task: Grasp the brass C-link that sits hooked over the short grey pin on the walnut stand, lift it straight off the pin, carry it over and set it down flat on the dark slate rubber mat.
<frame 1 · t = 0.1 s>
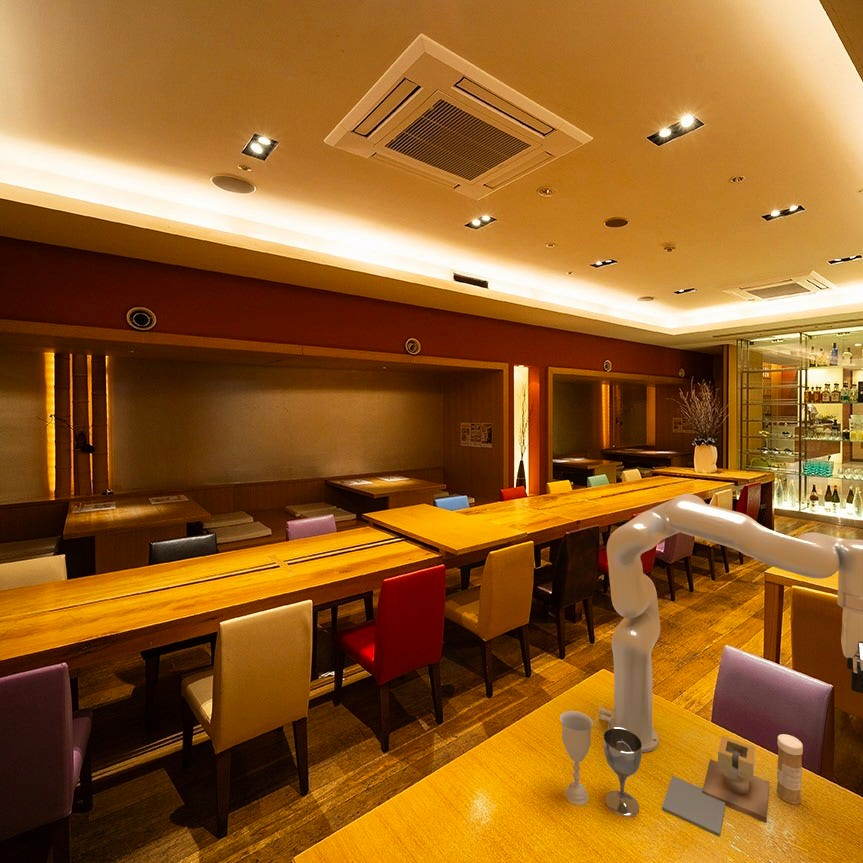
hand: (859, 681, 99), 31 cm above the table, fingers open, 9 cm apart
sprinkles bottle: (788, 797, 107), on the table
stand: (736, 790, 109), on the table
wine glass: (622, 804, 107), on the table
chalice: (576, 796, 109), on the table
mat: (694, 805, 106), on the table
c link: (736, 766, 109), point 6 cm above the table, touching stand
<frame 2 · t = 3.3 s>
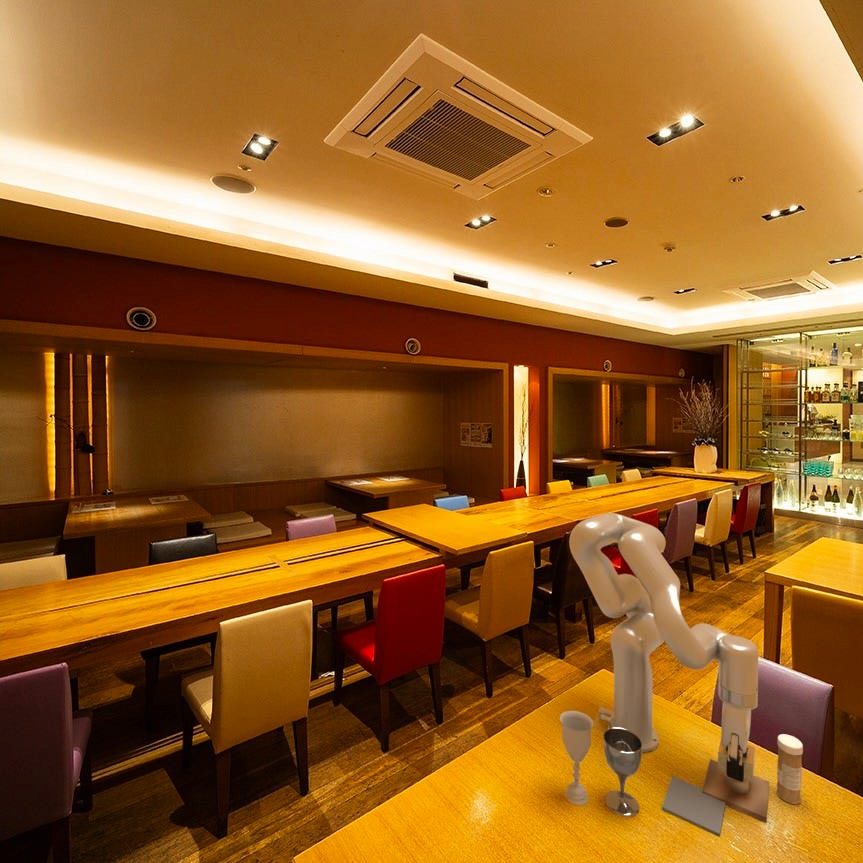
hand: (736, 767, 109), 6 cm above the table, fingers closed on c link, 6 cm apart
c link: (736, 766, 109), point 6 cm above the table, touching gripper, stand
everything else where it was.
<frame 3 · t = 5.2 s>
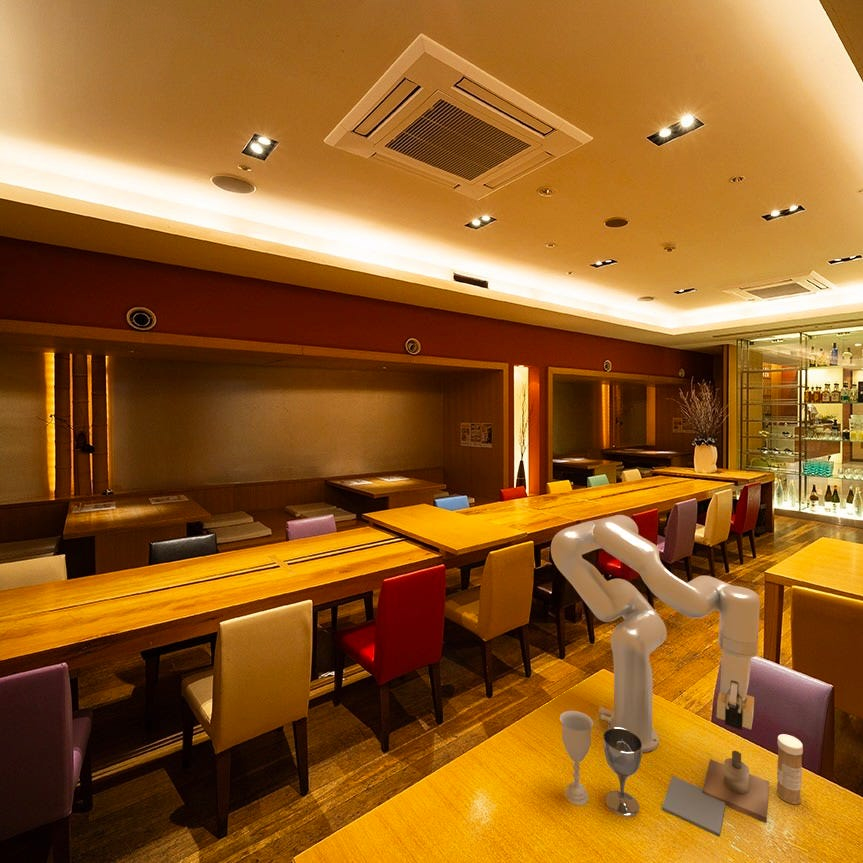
hand: (735, 717, 109), 17 cm above the table, fingers closed on c link, 6 cm apart
c link: (735, 715, 109), point 18 cm above the table, touching gripper
everything else where it was.
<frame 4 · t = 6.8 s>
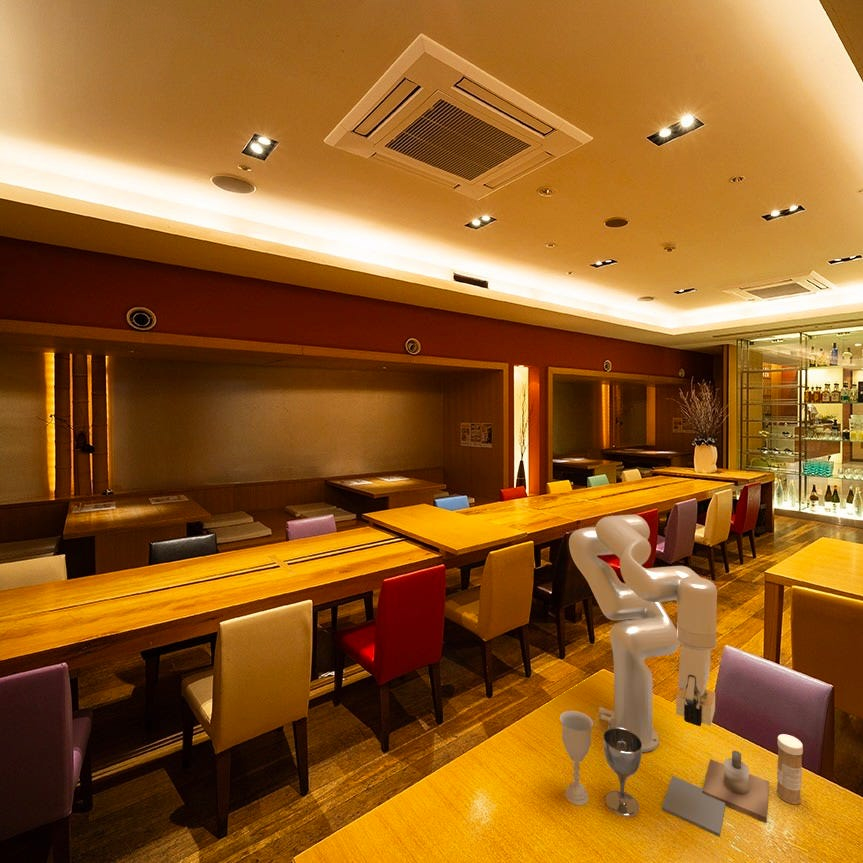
hand: (695, 713, 105), 21 cm above the table, fingers closed on c link, 6 cm apart
c link: (695, 711, 105), point 22 cm above the table, touching gripper
everything else where it was.
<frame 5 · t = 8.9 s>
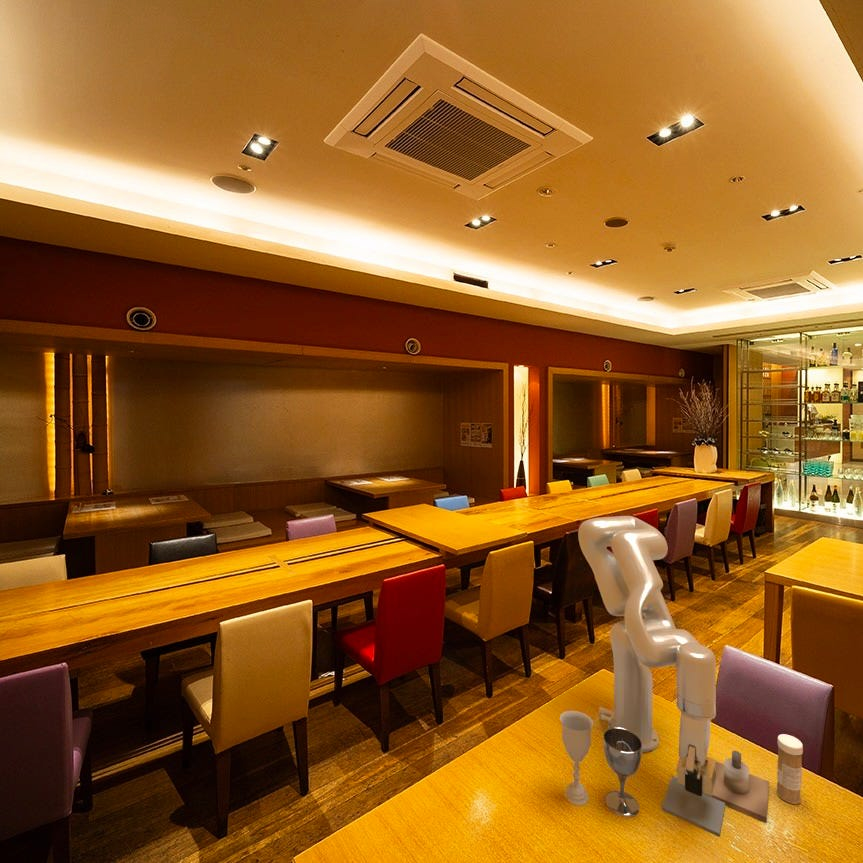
hand: (696, 781, 105), 6 cm above the table, fingers closed on c link, 6 cm apart
c link: (696, 779, 105), point 6 cm above the table, touching gripper
everything else where it was.
when the fingers open (2 cm above the table, at t = 10.6 s): c link drops 2 cm, resting on mat.
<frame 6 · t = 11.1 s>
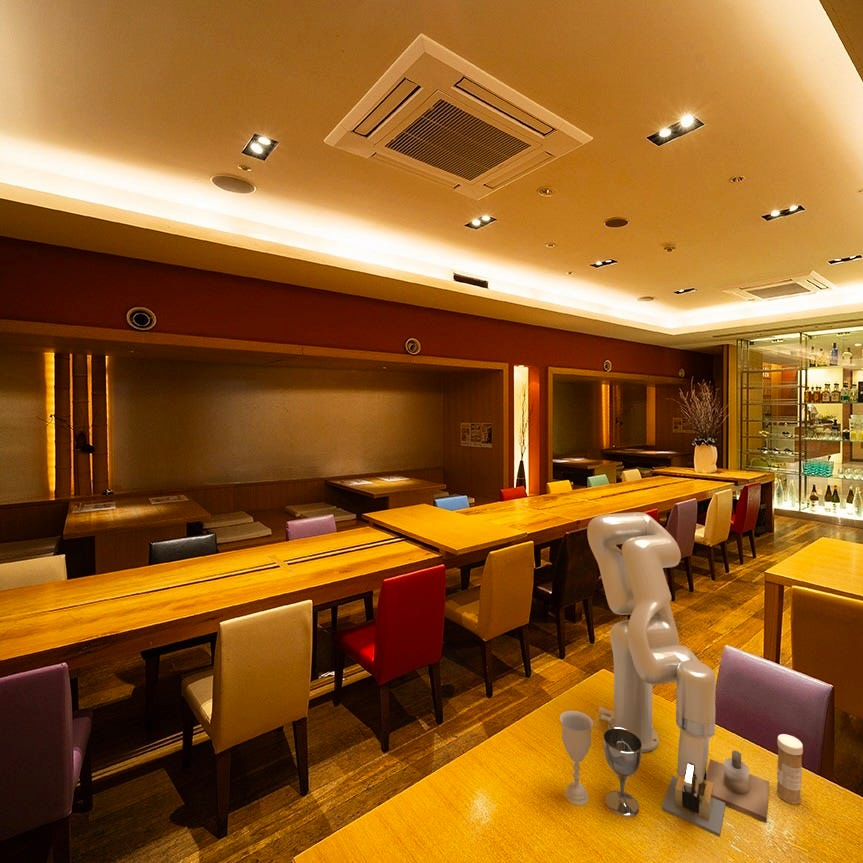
hand: (694, 794, 106), 2 cm above the table, fingers open, 9 cm apart
c link: (694, 803, 106), point 1 cm above the table, touching mat
everything else where it was.
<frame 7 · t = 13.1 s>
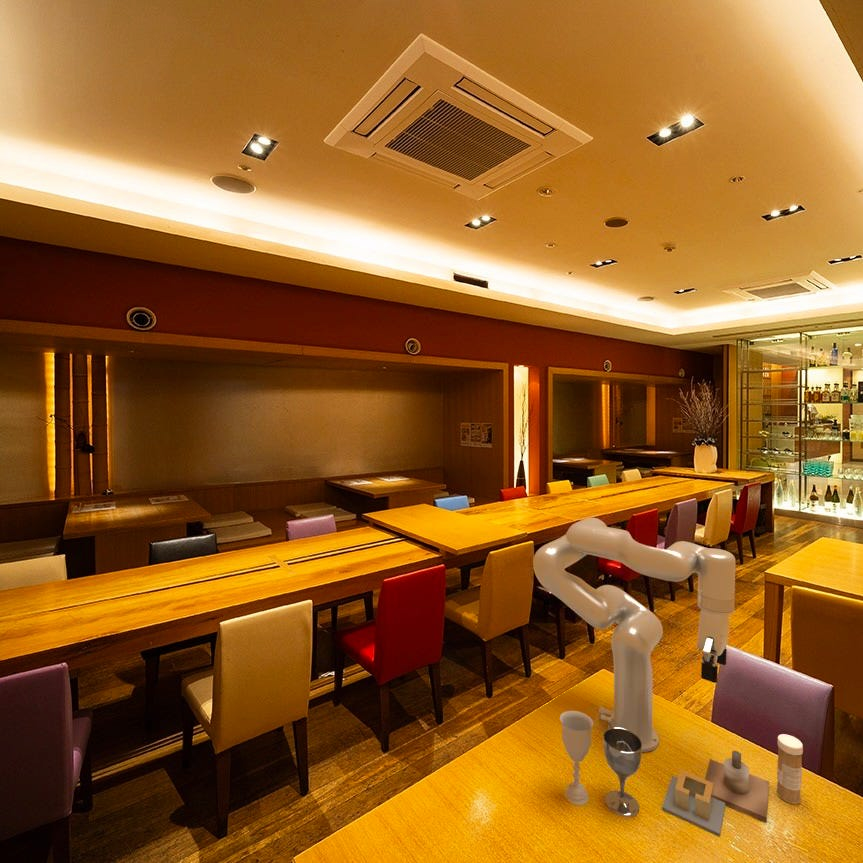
hand: (713, 671, 114), 25 cm above the table, fingers open, 9 cm apart
nothing on the table moved.
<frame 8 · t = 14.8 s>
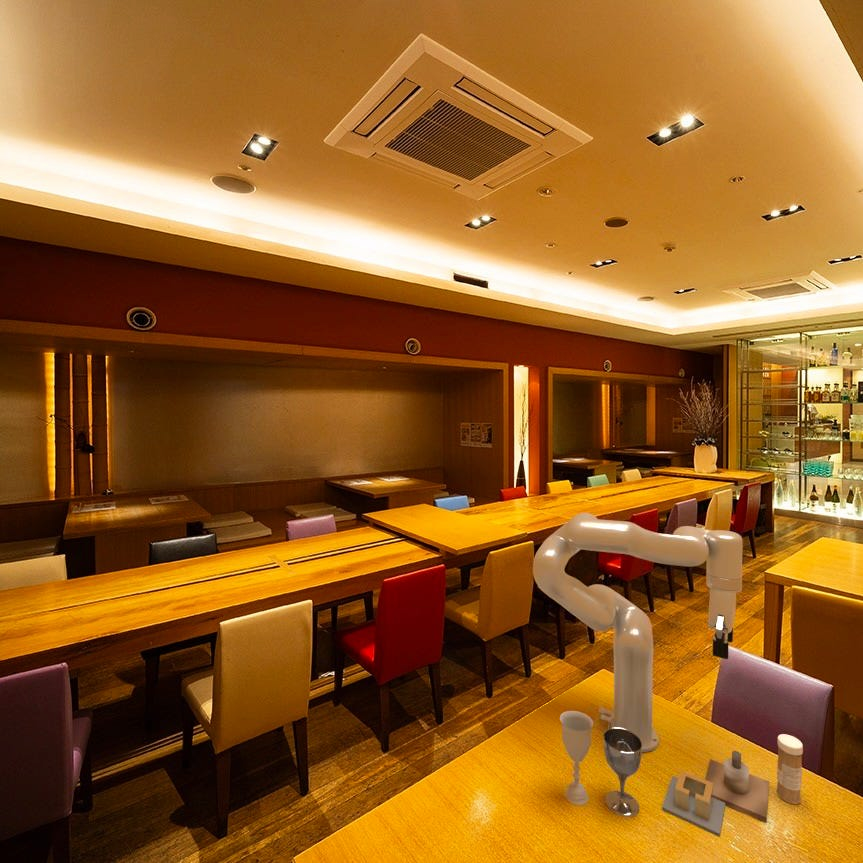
hand: (722, 648, 118), 28 cm above the table, fingers open, 9 cm apart
nothing on the table moved.
at the end: c link inside the target area on the mat (0.1 cm from its centre), point 0.6 cm above the mat's base; c link touching mat; c link tilted 0° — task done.
